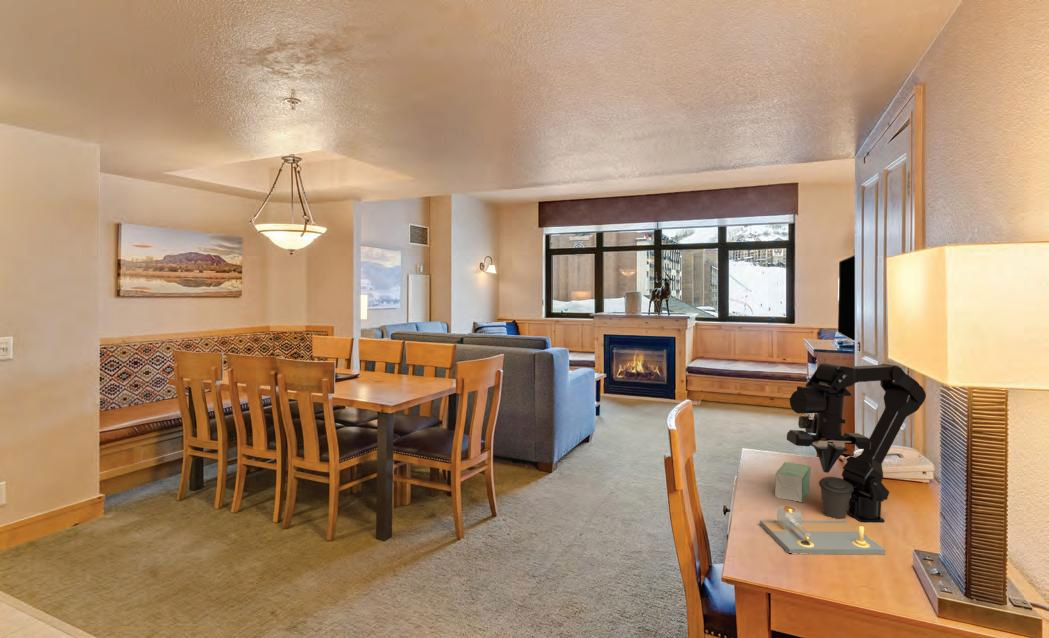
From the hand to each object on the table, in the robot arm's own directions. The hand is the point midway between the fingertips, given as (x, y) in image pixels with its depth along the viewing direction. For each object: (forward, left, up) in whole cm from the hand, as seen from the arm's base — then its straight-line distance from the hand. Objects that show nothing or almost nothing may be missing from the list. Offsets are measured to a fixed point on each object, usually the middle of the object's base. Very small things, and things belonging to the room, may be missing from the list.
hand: (825, 472), depth 137 cm
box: (-2, -20, -14) cm, 25 cm away
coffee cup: (-6, -5, -14) cm, 16 cm away
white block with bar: (+12, +9, -12) cm, 19 cm away
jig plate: (+6, +9, -13) cm, 17 cm away
